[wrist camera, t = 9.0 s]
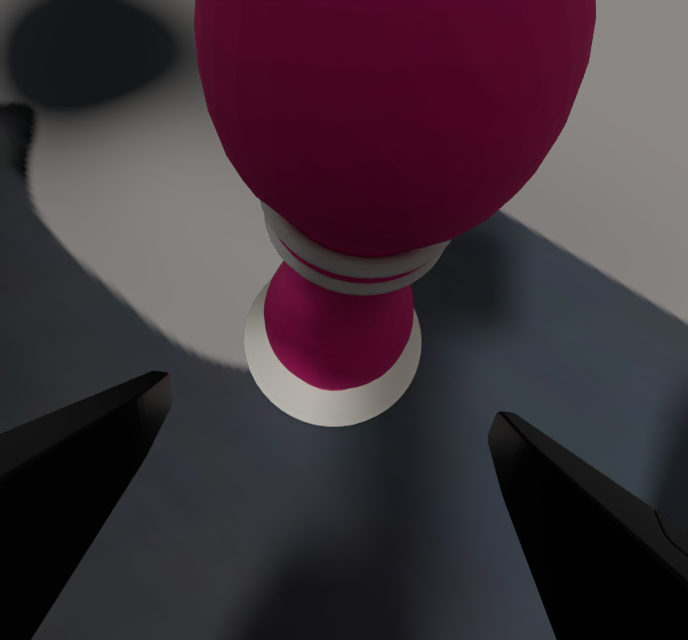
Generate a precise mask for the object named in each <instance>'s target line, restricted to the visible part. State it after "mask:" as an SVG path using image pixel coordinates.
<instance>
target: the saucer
mask: <svg viewBox="0 0 688 640" xmlns="http://www.w3.org/2000/svg"><path fill="white" fill-rule="evenodd" d="M271 280H272V279H271ZM271 280H270V281H269V282H268V283H267V284H266V285H265V287H264V288H263V289H262V291H261V292H260V293H259V295H258V296H257V298H256V299H255V301H254V303H253V305H252V307H251V310H250V312H249V315H248V318H247V322H246V326H245V336H244V341H245V353H246V358H247V362H248V365H249V368H250V371H251V374H252V376H253V378H254V380H255V382H256V383H257V385H258V386H259V388H260V389H261V390H262V392H263V393H264V394H265V395H266V396H267V397H268V399H269V400H270V401H271V402H272V403H273V404H275V405H276V406H277V407H278V408H279V409H281V410H282V411H283V412H285V413H287V414H288V415H290V416H292V417H293V418H296V419H298V420H300V421H303V422H306V423H309V424H313V425H317V426H325V427H342V426H349V425H354V424H357V423H361V422H364V421H366V420H369V419H371V418H373V417H375V416H377V415H379V414H381V413H382V412H384V411H385V410H387V409H388V408H389V407H391V406H392V405H393V404H394V403H395V402H396V401H397V400H398V399H399V398H400V397H401V396H402V395H403V394H404V392H405V391H406V389H407V388H408V387H409V385H410V384H411V382H412V379H413V377H414V375H415V373H416V370H417V367H418V364H419V360H420V355H421V330H420V325H419V321H418V318H417V315H416V312H415V309H414V317H413V327H412V331H411V334H410V338H409V341H408V342H407V344H406V346H405V348H404V350H403V352H402V354H401V356H400V357H399V359H398V360H397V361H396V363H395V364H394V365H393V366H392V368H391V369H389V370H388V371H387V372H386V373H385V374H384V375H382V376H381V377H380V378H378V379H376V380H374V381H372V382H370V383H369V384H366V385H363V386H360V387H356V388H350V389H346V390H342V391H328V390H321V389H318V388H316V387H313V386H311V385H309V384H307V383H306V382H304V381H302V380H301V379H299V378H298V377H296V376H295V375H293V374H292V373H291V372H290V371H288V370H287V369H286V368H285V367H284V366H283V365H282V363H281V362H280V361H279V360H278V358H277V357H276V355H275V354H274V352H273V350H272V348H271V346H270V344H269V341H268V337H267V334H266V329H265V321H264V302H265V298H266V294H267V290H268V288H269V285H270V282H271Z"/></svg>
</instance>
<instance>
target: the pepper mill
mask: <svg viewBox="0 0 688 640" xmlns="http://www.w3.org/2000/svg"><path fill="white" fill-rule="evenodd" d="M595 21H596V0H195V15H194V29H195V41H196V51H197V61H198V69H199V73H200V77H201V82H202V86H203V91H204V95H205V99H206V103H207V108H208V112H209V114H210V116H211V119H212V122H213V124H214V126H215V129H216V131H217V134H218V136H219V139H220V141H221V143H222V146H223V148H224V151H225V153H226V156H227V157H228V158H229V160H230V162H231V163H232V165H233V166H234V168H235V169H236V171H237V172H238V174H239V175H240V177H241V178H242V180H243V181H244V182H245V184H247V186H248V187H249V188H250V189H251V191H252V192H253V193H254V195H255V196H256V197H257V198H259V199H260V201H261V206H262V209H263V211H264V214H265V223H266V227H267V230H268V233H269V236H270V238H271V241H272V243H273V244H274V246H275V248H276V250H277V252H278V253H279V255H280V256H281V257H282V258H283V260H284V261H283V263H282V264H281V265H280V267H279V268H278V270H277V271H276V273H275V275H274V276H273V278H272V280H271V282H270V285H269V288H268V290H267V294H266V298H265V302H264V321H265V329H266V334H267V337H268V341H269V344H270V346H271V348H272V350H273V352H274V354H275V355H276V357H277V358H278V360H279V361H280V362H281V363H282V365H283V366H284V367H285V368H286V369H287V370H288V371H290V372H291V373H292V374H293V375H295V376H296V377H298V378H299V379H301V380H302V381H304V382H306V383H307V384H309V385H311V386H313V387H316V388H318V389H321V390H328V391H342V390H346V389H350V388H356V387H360V386H363V385H366V384H369V383H370V382H372V381H374V380H376V379H378V378H380V377H381V376H382V375H384V374H385V373H386V372H387V371H388V370H389V369H391V368H392V366H393V365H394V364H395V363H396V361H397V360H398V359H399V357H400V356H401V354H402V352H403V350H404V348H405V346H406V344H407V342H408V341H409V338H410V334H411V331H412V327H413V317H414V302H413V294H412V290H411V286H410V284H412V283H413V282H415V281H416V280H418V279H419V278H421V277H422V276H423V275H425V274H426V273H427V272H428V271H429V270H430V269H431V268H432V267H433V266H434V265H435V263H436V262H437V261H438V259H439V258H440V256H441V255H442V253H443V251H444V249H445V248H446V247H447V246H448V245H449V243H450V242H451V240H452V239H453V238H455V237H457V236H459V235H460V234H462V233H464V232H466V231H468V230H470V229H472V228H473V227H475V226H477V225H479V224H480V223H482V222H484V221H486V220H487V219H488V218H490V217H491V216H492V215H493V214H494V213H495V212H496V211H498V210H499V209H500V208H501V207H502V206H503V205H504V204H505V203H507V202H508V201H509V200H510V199H511V198H512V197H513V196H514V195H515V194H516V193H517V192H518V191H519V190H520V189H521V188H522V187H523V186H524V185H525V184H526V182H527V181H528V180H529V179H530V178H531V177H532V176H533V175H534V174H535V172H536V171H537V169H538V167H539V166H540V164H541V163H542V161H543V159H544V158H545V157H546V155H547V154H548V152H549V150H550V149H551V147H552V146H553V144H554V143H555V141H556V140H557V138H558V136H559V135H560V133H561V131H562V129H563V128H564V126H565V123H566V122H567V119H568V116H569V114H570V111H571V108H572V106H573V103H574V101H575V98H576V95H577V93H578V90H579V87H580V85H581V82H582V79H583V77H584V74H585V71H586V68H587V65H588V63H589V58H590V52H591V46H592V39H593V33H594V27H595Z"/></svg>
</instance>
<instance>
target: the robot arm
mask: <svg viewBox="0 0 688 640" xmlns="http://www.w3.org/2000/svg"><path fill="white" fill-rule="evenodd" d="M172 401H173V393H172V382H171V376H170V374H169V373H168V372H162V371H151V372H148V373H146V374H143V375H141V376H139V377H136V378H134V379H131V380H129V381H127V382H124V383H122V384H119V385H117V386H115V387H112V388H110V389H107V390H105V391H102V392H100V393H98V394H95V395H93V396H90V397H88V398H86V399H83V400H81V401H78V402H76V403H74V404H71V405H69V406H66V407H64V408H62V409H59V410H57V411H54V412H52V413H50V414H47V415H45V416H42V417H40V418H38V419H35V420H33V421H30V422H28V423H26V424H23V425H21V426H18V427H16V428H13V429H11V430H9V431H6V432H4V433H1V434H0V640H31V639H32V637H33V636H34V634H35V632H36V631H37V629H38V628H39V626H40V624H41V623H42V621H43V620H44V618H45V617H46V615H47V613H48V612H49V610H50V609H51V607H52V605H53V604H54V602H55V601H56V599H57V598H58V596H59V594H60V593H61V591H62V590H63V588H64V586H65V585H66V583H67V582H68V580H69V579H70V577H71V575H72V574H73V572H74V571H75V569H76V567H77V566H78V564H79V563H80V561H81V560H82V558H83V556H84V555H85V553H86V552H87V550H88V548H89V547H90V545H91V544H92V542H93V541H94V539H95V537H96V536H97V534H98V533H99V531H100V529H101V528H102V526H103V525H104V523H105V522H106V520H107V518H108V517H109V515H110V514H111V512H112V510H113V509H114V507H115V506H116V504H117V502H118V501H119V499H120V498H121V496H122V495H123V493H124V491H125V490H126V488H127V487H128V485H129V483H130V482H131V480H132V479H133V477H134V476H135V474H136V472H137V471H138V469H139V468H140V466H141V464H142V463H143V461H144V459H145V458H146V456H147V454H148V452H149V450H150V448H151V446H152V444H153V442H154V440H155V438H156V436H157V434H158V432H159V430H160V428H161V426H162V424H163V422H164V420H165V418H166V416H167V414H168V412H169V410H170V407H171V405H172ZM488 444H489V448H490V451H491V455H492V459H493V463H494V466H495V470H496V474H497V478H498V482H499V485H500V489H501V492H502V495H503V498H504V501H505V504H506V507H507V509H508V512H509V515H510V517H511V520H512V523H513V525H514V528H515V531H516V533H517V536H518V539H519V541H520V544H521V546H522V549H523V552H524V554H525V557H526V560H527V562H528V565H529V568H530V570H531V573H532V576H533V578H534V581H535V584H536V586H537V589H538V592H539V594H540V597H541V600H542V602H543V605H544V608H545V610H546V613H547V616H548V618H549V621H550V623H551V626H552V629H553V631H554V634H555V637H556V639H557V640H688V532H687V531H686V530H684V529H683V528H681V527H680V526H678V525H677V524H675V523H674V522H672V521H671V520H669V519H668V518H666V517H665V516H664V515H662V514H661V513H659V512H658V511H654V510H653V508H652V507H650V506H649V505H647V504H646V503H645V502H643V501H642V500H640V499H639V498H637V497H636V496H634V495H633V494H631V493H630V492H628V491H627V490H626V489H624V488H623V487H621V486H620V485H618V484H617V483H615V482H614V481H612V480H611V479H610V478H608V477H607V476H605V475H604V474H602V473H601V472H599V471H598V470H596V469H595V468H594V467H592V466H591V465H589V464H588V463H586V462H585V461H583V460H582V459H580V458H579V457H578V456H576V455H575V454H573V453H572V452H570V451H569V450H567V449H566V448H564V447H563V446H562V445H560V444H559V443H557V442H556V441H554V440H553V439H551V438H550V437H548V436H547V435H545V434H544V433H543V432H541V431H540V430H538V429H537V428H535V427H534V426H532V425H531V424H529V423H528V422H527V421H525V420H524V419H522V418H521V417H519V416H518V415H516V414H515V413H511V412H502V411H500V412H498V413H497V414H496V416H495V418H494V421H493V423H492V426H491V428H490V431H489V433H488Z"/></svg>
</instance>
